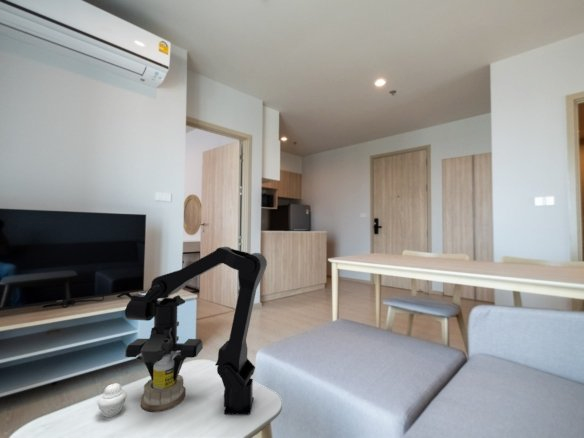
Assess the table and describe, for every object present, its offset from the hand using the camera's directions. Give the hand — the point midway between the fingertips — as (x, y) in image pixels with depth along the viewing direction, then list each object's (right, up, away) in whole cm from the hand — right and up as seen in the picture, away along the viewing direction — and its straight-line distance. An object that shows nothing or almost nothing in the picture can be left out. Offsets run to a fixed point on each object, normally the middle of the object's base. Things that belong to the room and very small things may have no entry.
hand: (164, 380), depth 74 cm
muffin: (-10, -5, -6) cm, 13 cm away
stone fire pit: (0, -5, 0) cm, 5 cm away
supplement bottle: (0, -3, 0) cm, 3 cm away
